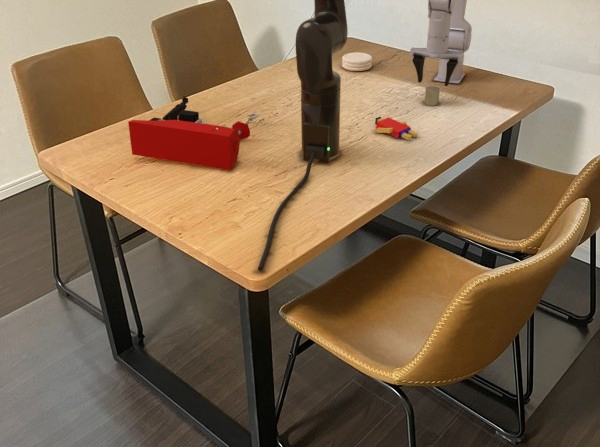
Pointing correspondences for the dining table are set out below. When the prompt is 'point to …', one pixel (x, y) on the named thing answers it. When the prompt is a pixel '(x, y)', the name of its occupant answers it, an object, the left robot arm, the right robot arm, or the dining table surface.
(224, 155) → the electric hoist
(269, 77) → the dining table surface
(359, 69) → the white ridged disc
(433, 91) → the canister
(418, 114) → the dining table surface
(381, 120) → the toy figure
